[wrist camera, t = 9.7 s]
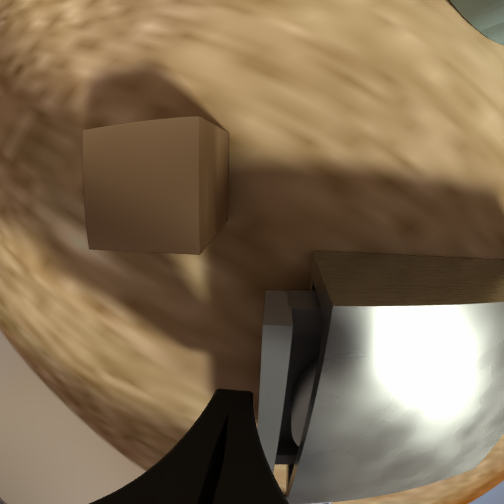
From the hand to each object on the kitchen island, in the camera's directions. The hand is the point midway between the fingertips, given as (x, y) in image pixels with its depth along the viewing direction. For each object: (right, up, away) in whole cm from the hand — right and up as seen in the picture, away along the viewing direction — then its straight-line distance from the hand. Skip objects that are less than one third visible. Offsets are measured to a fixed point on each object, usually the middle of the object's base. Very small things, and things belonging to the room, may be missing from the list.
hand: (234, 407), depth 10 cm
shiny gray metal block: (+8, 0, +2) cm, 8 cm away
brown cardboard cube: (-2, +8, 0) cm, 9 cm away
